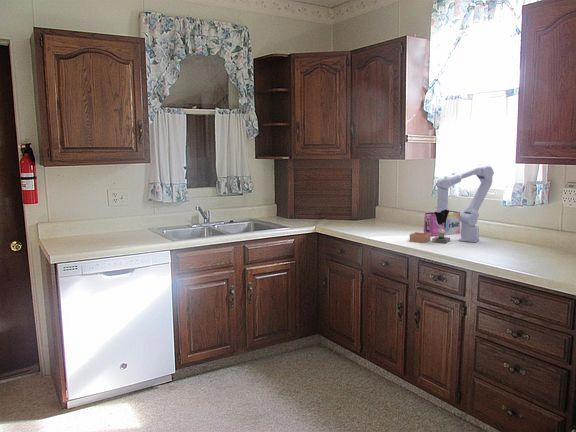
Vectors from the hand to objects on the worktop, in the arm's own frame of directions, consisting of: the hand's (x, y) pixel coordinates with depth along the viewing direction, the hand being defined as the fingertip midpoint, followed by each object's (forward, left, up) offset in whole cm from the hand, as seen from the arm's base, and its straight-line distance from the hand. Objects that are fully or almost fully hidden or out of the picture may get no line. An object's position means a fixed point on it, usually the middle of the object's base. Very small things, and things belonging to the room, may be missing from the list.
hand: (441, 223), depth 287 cm
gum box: (+7, -25, -11) cm, 28 cm away
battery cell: (0, 0, -10) cm, 10 cm away
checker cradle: (0, 0, -10) cm, 10 cm away
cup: (+11, +4, -10) cm, 16 cm away
